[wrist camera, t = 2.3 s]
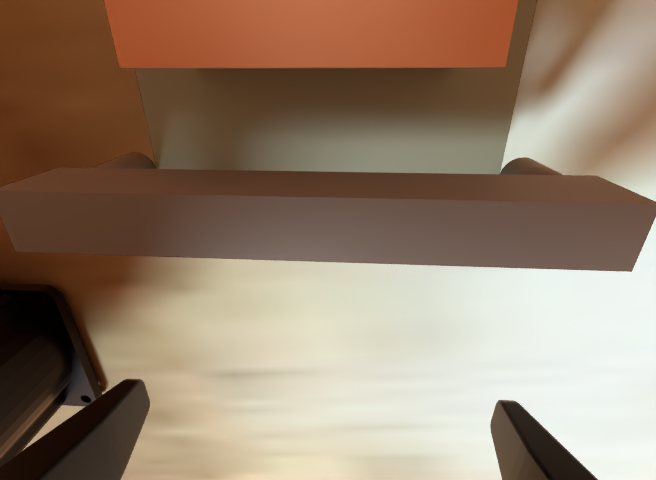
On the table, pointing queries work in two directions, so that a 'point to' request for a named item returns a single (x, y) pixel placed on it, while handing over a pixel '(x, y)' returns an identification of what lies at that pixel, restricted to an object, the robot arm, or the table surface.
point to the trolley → (328, 144)
